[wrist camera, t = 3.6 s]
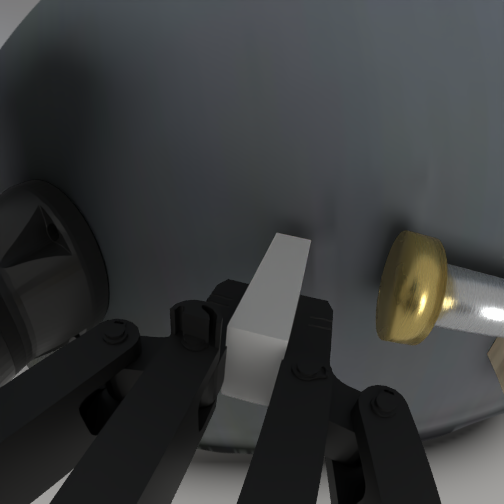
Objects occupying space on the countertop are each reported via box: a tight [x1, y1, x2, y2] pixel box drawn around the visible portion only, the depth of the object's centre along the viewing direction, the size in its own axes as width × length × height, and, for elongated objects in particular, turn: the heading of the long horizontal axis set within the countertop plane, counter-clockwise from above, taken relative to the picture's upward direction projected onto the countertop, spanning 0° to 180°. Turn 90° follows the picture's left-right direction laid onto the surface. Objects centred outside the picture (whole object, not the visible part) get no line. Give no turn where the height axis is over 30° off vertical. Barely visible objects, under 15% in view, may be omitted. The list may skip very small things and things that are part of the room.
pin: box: [376, 230, 504, 345], centre depth 11 cm, size 14×5×5 cm, turn 83°
